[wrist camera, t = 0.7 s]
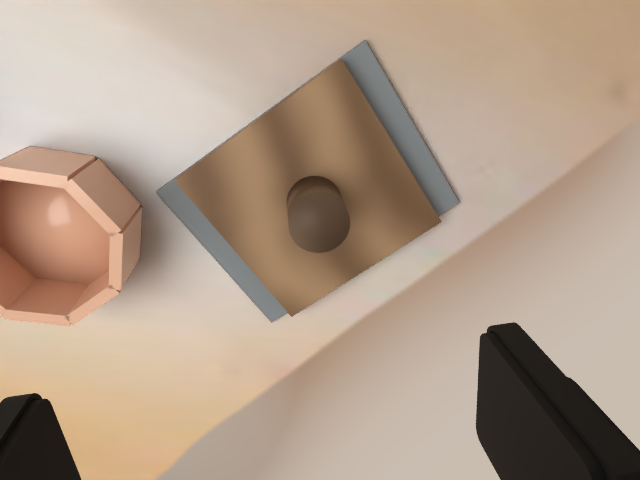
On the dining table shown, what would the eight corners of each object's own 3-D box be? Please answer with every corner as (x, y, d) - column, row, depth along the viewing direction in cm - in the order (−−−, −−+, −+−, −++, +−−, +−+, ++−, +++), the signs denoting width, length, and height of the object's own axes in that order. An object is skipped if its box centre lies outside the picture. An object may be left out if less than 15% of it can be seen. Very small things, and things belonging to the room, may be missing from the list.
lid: (340, 58, 32) (352, 64, 27) (437, 217, 37) (462, 245, 32) (177, 177, 34) (161, 202, 29) (291, 310, 39) (293, 350, 34)
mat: (364, 40, 32) (365, 40, 31) (457, 201, 37) (459, 202, 37) (156, 190, 35) (155, 192, 34) (271, 319, 40) (271, 322, 40)
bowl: (63, 119, 32) (28, 133, 27) (171, 237, 36) (156, 267, 32) (-50, 207, 34) (-100, 235, 29) (66, 310, 38) (38, 349, 33)
